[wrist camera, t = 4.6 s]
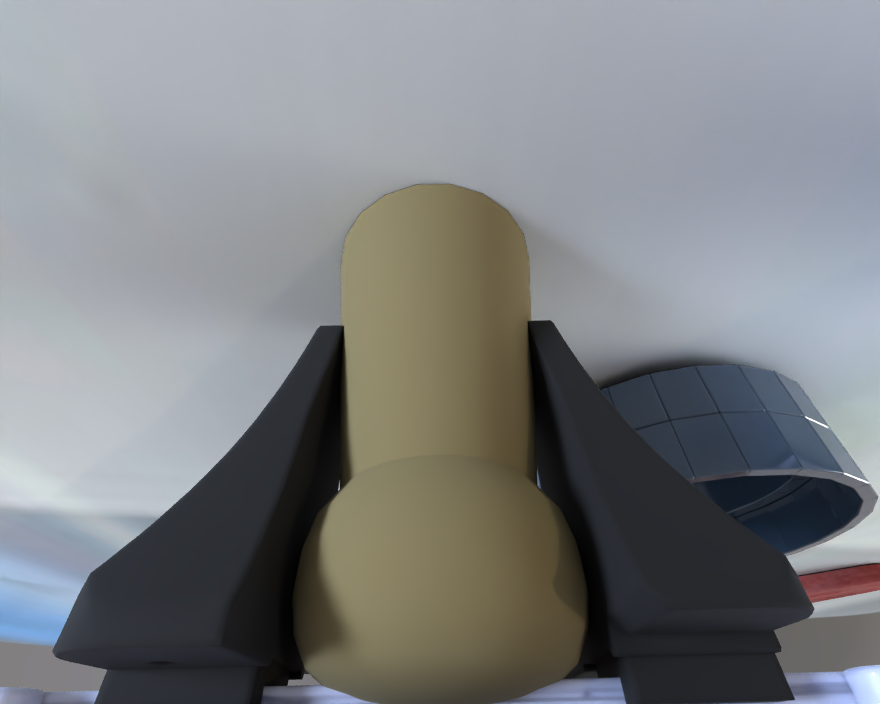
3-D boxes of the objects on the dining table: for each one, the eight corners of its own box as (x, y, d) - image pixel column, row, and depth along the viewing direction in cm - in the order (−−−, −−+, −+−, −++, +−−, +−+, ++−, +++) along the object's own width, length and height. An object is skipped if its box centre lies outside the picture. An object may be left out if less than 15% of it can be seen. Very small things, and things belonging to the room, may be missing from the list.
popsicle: (722, 609, 45) (904, 578, 38) (715, 591, 46) (889, 557, 39) (734, 616, 48) (905, 588, 41) (726, 598, 49) (892, 568, 42)
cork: (555, 198, 12) (742, 686, 5) (501, 342, 17) (558, 713, 9) (338, 169, 12) (184, 691, 4) (342, 328, 16) (270, 717, 9)
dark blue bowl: (871, 350, 18) (975, 464, 14) (721, 489, 27) (762, 576, 24) (549, 358, 18) (578, 474, 14) (513, 494, 27) (525, 582, 24)
